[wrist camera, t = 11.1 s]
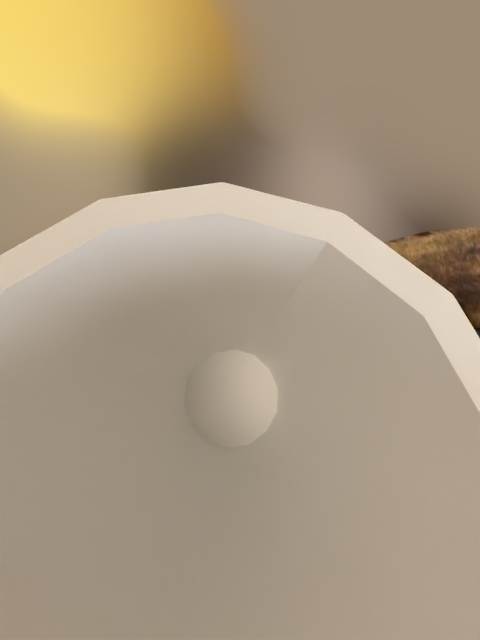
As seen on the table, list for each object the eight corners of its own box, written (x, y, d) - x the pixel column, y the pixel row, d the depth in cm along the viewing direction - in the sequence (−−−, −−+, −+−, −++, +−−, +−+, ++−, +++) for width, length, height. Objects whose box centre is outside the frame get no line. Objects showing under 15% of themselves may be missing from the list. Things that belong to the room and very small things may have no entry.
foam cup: (138, 445, 15) (-371, 811, 3) (187, 310, 17) (31, 133, 4) (283, 495, 15) (560, 1308, 2) (318, 349, 16) (575, 272, 4)
